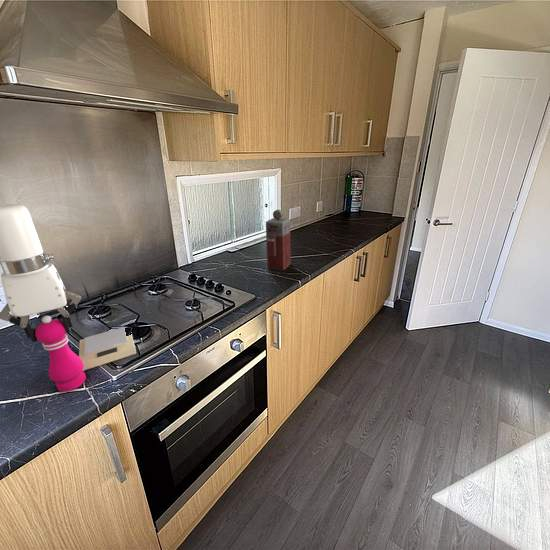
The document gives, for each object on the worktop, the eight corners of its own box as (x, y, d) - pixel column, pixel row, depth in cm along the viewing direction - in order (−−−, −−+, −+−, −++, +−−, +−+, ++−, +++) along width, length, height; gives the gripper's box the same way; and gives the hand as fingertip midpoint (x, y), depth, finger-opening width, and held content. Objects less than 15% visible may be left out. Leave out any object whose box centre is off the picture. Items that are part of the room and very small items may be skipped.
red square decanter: (265, 269, 143) (262, 212, 132) (274, 261, 152) (272, 207, 141) (282, 272, 140) (280, 213, 129) (290, 264, 149) (290, 208, 138)
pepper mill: (90, 370, 80) (67, 305, 72) (85, 388, 74) (59, 320, 66) (59, 377, 77) (32, 312, 70) (51, 397, 71) (20, 327, 63)
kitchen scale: (81, 371, 79) (77, 362, 78) (81, 346, 90) (79, 338, 89) (136, 353, 86) (134, 345, 85) (131, 332, 96) (129, 324, 95)
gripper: (73, 251, 70) (94, 316, 77) (-23, 267, 62) (10, 338, 69) (71, 260, 64) (94, 330, 71) (-35, 279, 56) (2, 355, 63)
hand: (52, 333), depth 70 cm, fingers closed on pepper mill, 6 cm apart
